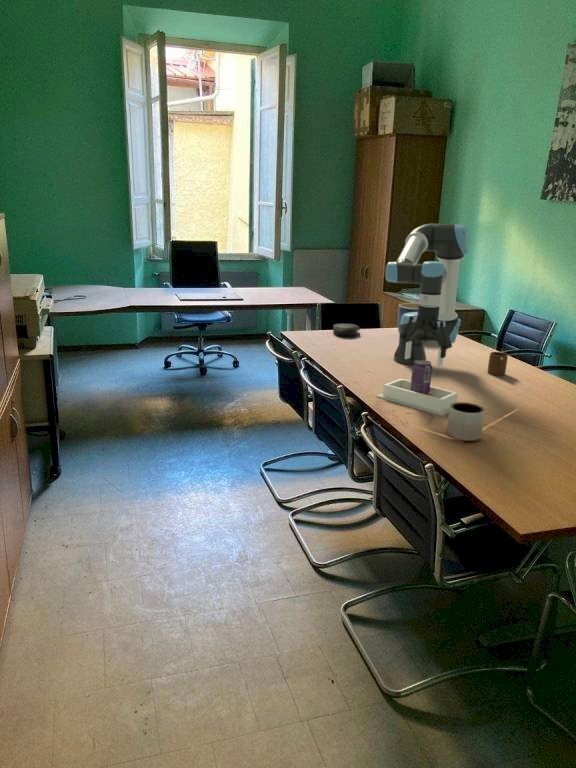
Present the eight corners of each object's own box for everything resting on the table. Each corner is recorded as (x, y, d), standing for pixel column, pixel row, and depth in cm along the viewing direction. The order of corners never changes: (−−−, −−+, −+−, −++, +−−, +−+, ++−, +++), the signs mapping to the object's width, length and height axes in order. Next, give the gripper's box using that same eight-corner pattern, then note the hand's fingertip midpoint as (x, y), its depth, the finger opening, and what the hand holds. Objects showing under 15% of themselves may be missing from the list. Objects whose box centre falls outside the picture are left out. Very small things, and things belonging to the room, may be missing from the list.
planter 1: (392, 341, 315) (395, 307, 309) (398, 334, 333) (401, 301, 328) (430, 345, 308) (434, 310, 303) (435, 338, 327) (438, 305, 321)
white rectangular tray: (376, 397, 221) (377, 384, 219) (399, 388, 232) (400, 376, 231) (441, 416, 203) (443, 402, 201) (463, 406, 214) (464, 393, 212)
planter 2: (441, 429, 191) (444, 401, 188) (473, 429, 192) (476, 402, 189) (453, 442, 180) (456, 413, 177) (486, 441, 181) (490, 413, 178)
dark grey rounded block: (333, 340, 314) (333, 327, 311) (332, 333, 331) (333, 321, 329) (359, 341, 313) (360, 328, 311) (357, 334, 330) (358, 322, 328)
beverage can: (430, 391, 219) (433, 360, 215) (428, 396, 212) (431, 365, 209) (411, 388, 221) (414, 358, 217) (408, 394, 214) (411, 363, 211)
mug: (509, 379, 250) (513, 358, 247) (492, 378, 251) (495, 357, 248) (502, 372, 262) (505, 352, 259) (485, 371, 262) (488, 351, 259)
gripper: (393, 301, 212) (389, 357, 219) (455, 311, 196) (448, 371, 202) (405, 299, 217) (400, 353, 224) (466, 309, 201) (458, 367, 208)
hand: (423, 362), depth 213 cm, fingers open, 13 cm apart
